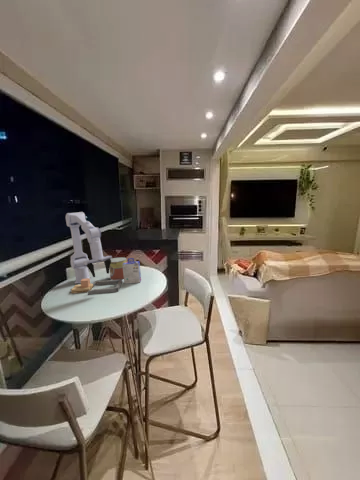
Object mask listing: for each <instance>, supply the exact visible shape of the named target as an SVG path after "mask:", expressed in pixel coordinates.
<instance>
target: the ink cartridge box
mask: <svg viewBox="0 0 360 480" xmlns="http://www.w3.org/2000/svg"><path fill="white" fill-rule="evenodd" d="M122 266H123V275H124V279H123V283H124V284H126V285H127V284H134V283H135V284H136V283H137V284H138V283H141V281H142V274H141V264H140V260H138V261H137V260H135V258H133V257H129V258H128V259H127V262H124V263H123V265H122Z"/></svg>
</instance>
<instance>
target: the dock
mask: <svg viewBox="0 0 360 480" xmlns="http://www.w3.org/2000/svg"><path fill="white" fill-rule="evenodd" d="M94 284H95V285H96V286H97V285H99V286H102V285H103V286H104V285H105V286H107V285H116V286H115V287H106V288H104V287H103V288H93V289H91V290H89V291H88V292H87V294H88V296H89V295H94V294H105V293H118V292H119V291H120V288H121V286H122V285H123V280H122V279H119V280H111V279H108V280H94Z"/></svg>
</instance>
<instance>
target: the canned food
mask: <svg viewBox="0 0 360 480" xmlns="http://www.w3.org/2000/svg"><path fill="white" fill-rule="evenodd" d="M110 260H111V264H110V268H109V276H110V277H109V278H110V279H109V280H119V279H122V281H124V275H123V266H122V265H123V263H124V262H128V260H127V258H126V257H125V256H123V257H114V258H113V257H112V259H110Z"/></svg>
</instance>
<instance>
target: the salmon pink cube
mask: <svg viewBox="0 0 360 480" xmlns="http://www.w3.org/2000/svg"><path fill="white" fill-rule="evenodd" d="M80 284H81V288H85V287H89V286H90V284H91V278H86V279H82V280H81V283H80Z"/></svg>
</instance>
